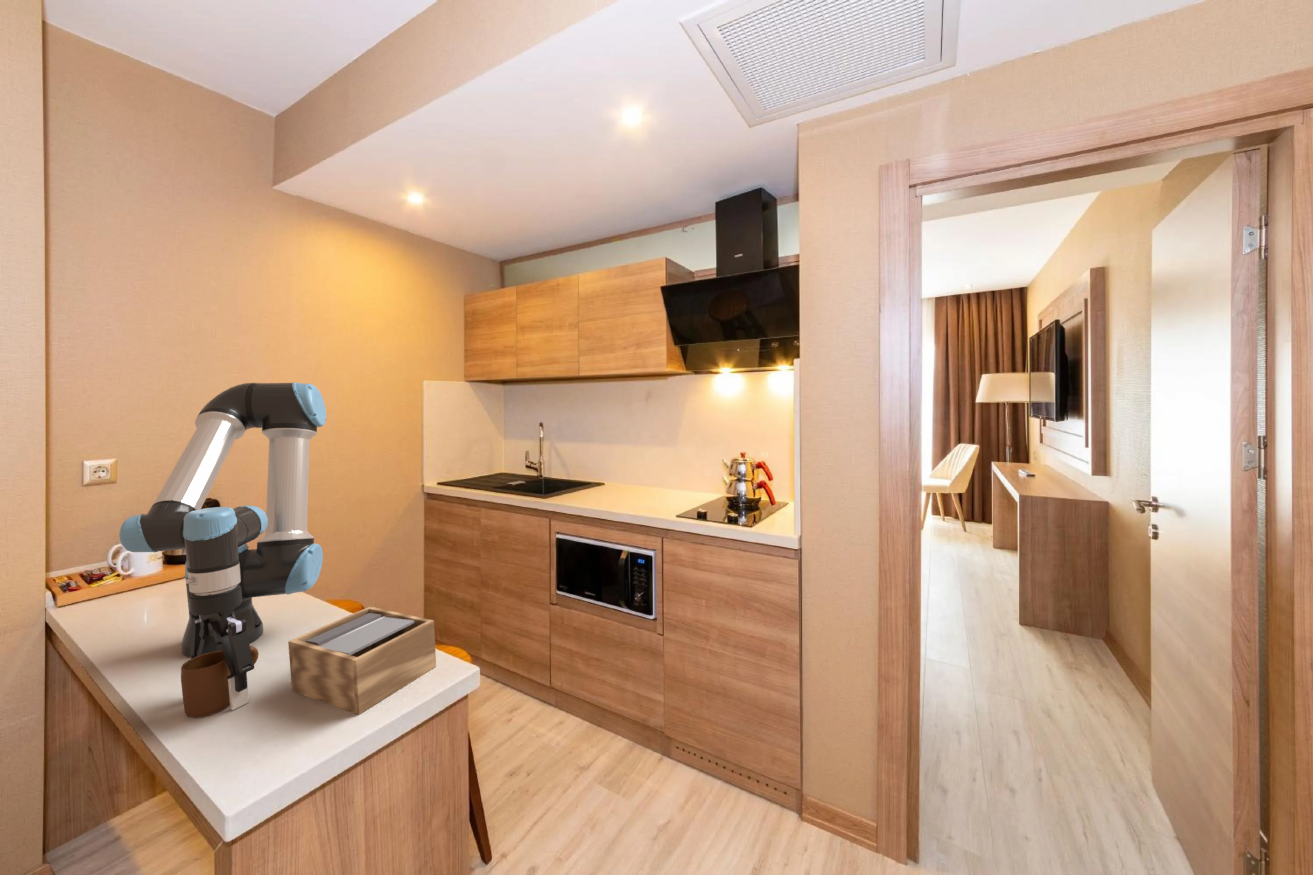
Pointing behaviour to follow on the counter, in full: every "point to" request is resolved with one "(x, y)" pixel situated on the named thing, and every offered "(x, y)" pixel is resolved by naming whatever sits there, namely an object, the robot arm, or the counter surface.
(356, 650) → the trapdoor
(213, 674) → the mug
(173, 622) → the counter surface
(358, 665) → the trapdoor frame
